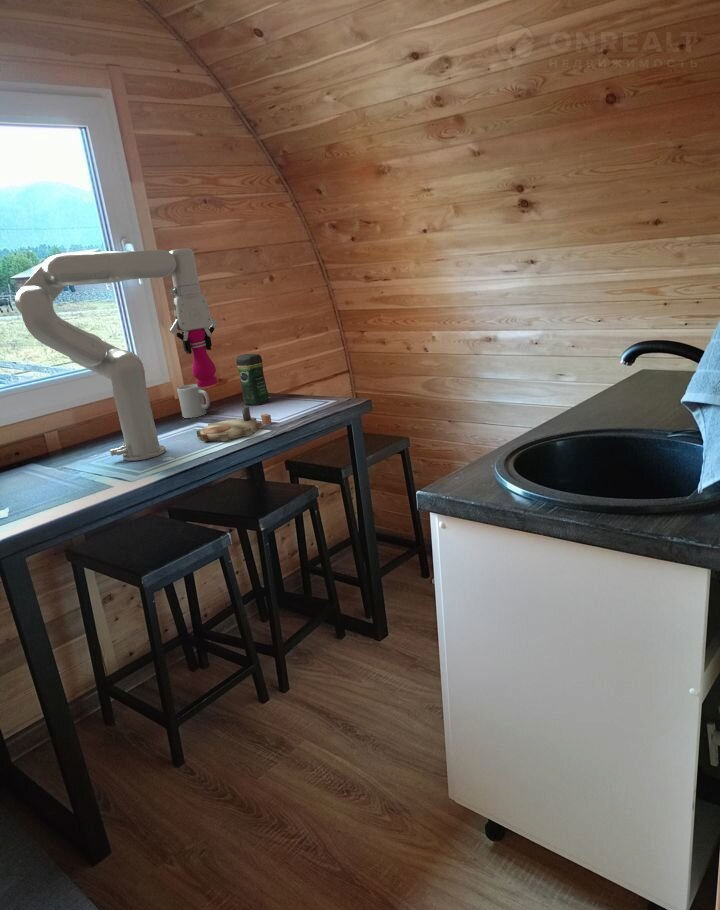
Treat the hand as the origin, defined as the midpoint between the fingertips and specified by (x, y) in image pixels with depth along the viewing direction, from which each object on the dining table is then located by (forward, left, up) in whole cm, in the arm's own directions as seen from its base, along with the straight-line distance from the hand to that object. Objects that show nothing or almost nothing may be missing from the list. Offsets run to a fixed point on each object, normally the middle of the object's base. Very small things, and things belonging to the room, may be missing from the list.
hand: (198, 351), depth 219 cm
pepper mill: (+1, +1, -11) cm, 11 cm away
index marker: (+17, -2, -27) cm, 32 cm away
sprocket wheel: (+4, -2, -27) cm, 28 cm away
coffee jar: (+29, +33, -27) cm, 52 cm away
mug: (+7, +36, -27) cm, 46 cm away
